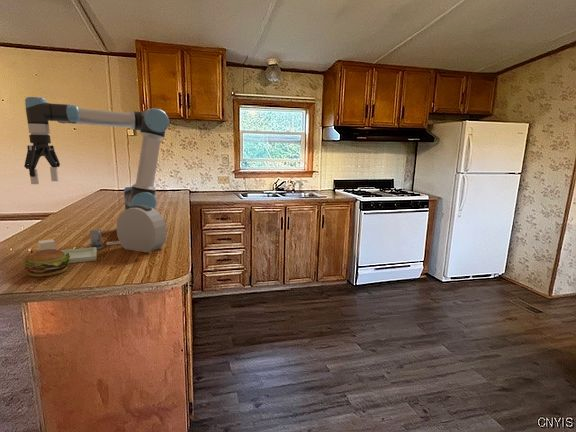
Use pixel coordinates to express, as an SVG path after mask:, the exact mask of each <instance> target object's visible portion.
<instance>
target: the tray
mask: <svg viewBox="0 0 576 432" xmlns="http://www.w3.org/2000/svg"><path fill="white" fill-rule="evenodd" d="M60 250H61V249H60ZM61 251H62V252H64V253H65V255H66V254H67V253H69V256H70V258H69V259H70V261H69V262H68V264H75V263H86V262H93V261H97V252H98V250H97V249H96V247H91V248H90V247H83V248H72V249H62V250H61Z"/></svg>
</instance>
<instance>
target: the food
mask: <svg viewBox="0 0 576 432" xmlns="http://www.w3.org/2000/svg"><path fill="white" fill-rule="evenodd" d="M69 258H70V256H69V253H67V254H66V255H65V253H64V252H62V251H61V249H57V248H56V249H45V250H40V251H39V250H36V251H35V252H33V253H31V254H30V255H29V256H28V257H27V259H25V260H24V262H22V264H24V270H27V275H28V276H31V277H36V278H37V277H38V278H42V277H44V276H45V277H51V276H56V275H59V274H62V273H64V272H66V271H67V270H68V267H69V266H68V265H69V263H68V262H69V261H70V259H69Z"/></svg>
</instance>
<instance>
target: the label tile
mask: <svg viewBox="0 0 576 432" xmlns="http://www.w3.org/2000/svg"><path fill="white" fill-rule="evenodd" d="M106 245H107V246H111V245H121V243H120V242H119V240H117V241H107V242H106Z"/></svg>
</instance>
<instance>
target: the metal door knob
mask: <svg viewBox="0 0 576 432" xmlns="http://www.w3.org/2000/svg"><path fill="white" fill-rule="evenodd" d="M89 241H90V246H89V248H91V247H96V249H97V251H98V250H103V249H104V244H103V239H102V229H98V228H97V229H91V230H90V229H89Z"/></svg>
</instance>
